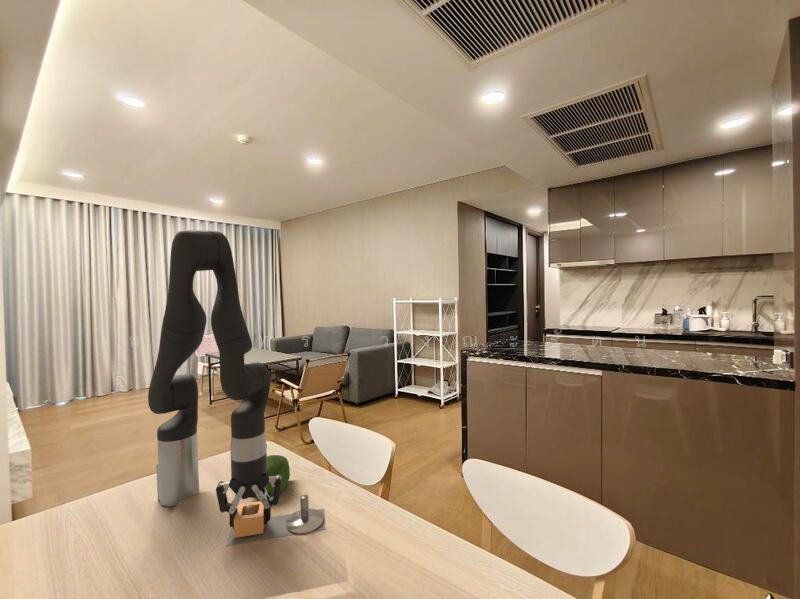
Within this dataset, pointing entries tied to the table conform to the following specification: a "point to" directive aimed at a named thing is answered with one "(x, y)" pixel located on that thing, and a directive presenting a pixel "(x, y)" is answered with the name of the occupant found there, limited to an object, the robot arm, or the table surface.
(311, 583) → the table surface
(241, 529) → the collar
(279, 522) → the board
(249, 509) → the stand rod
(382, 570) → the table surface
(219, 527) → the table surface
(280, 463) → the fruit
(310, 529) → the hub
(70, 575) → the table surface
